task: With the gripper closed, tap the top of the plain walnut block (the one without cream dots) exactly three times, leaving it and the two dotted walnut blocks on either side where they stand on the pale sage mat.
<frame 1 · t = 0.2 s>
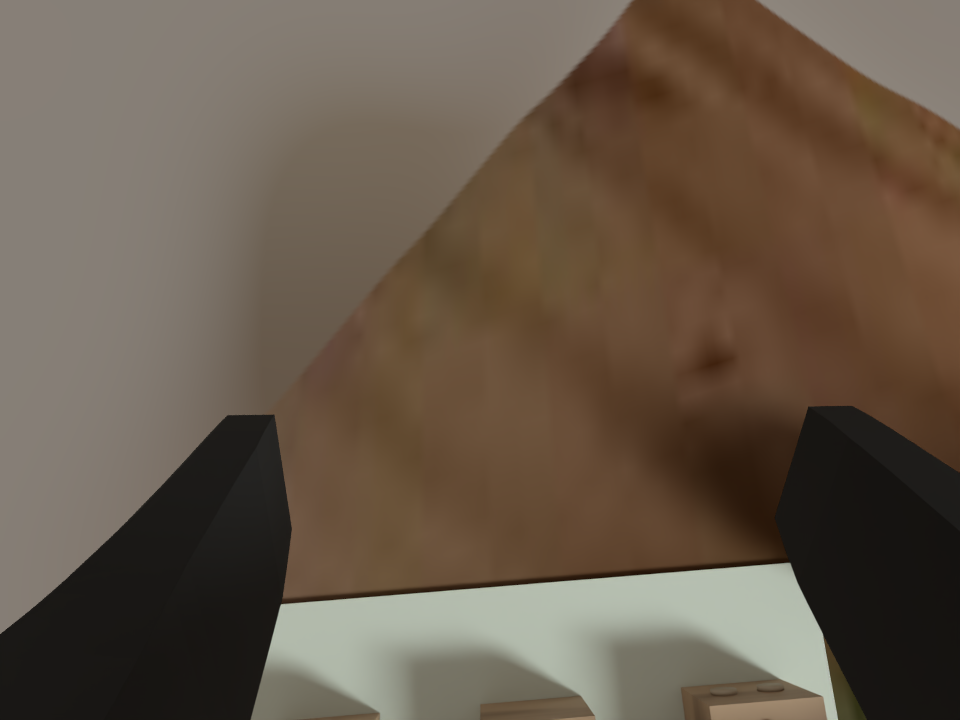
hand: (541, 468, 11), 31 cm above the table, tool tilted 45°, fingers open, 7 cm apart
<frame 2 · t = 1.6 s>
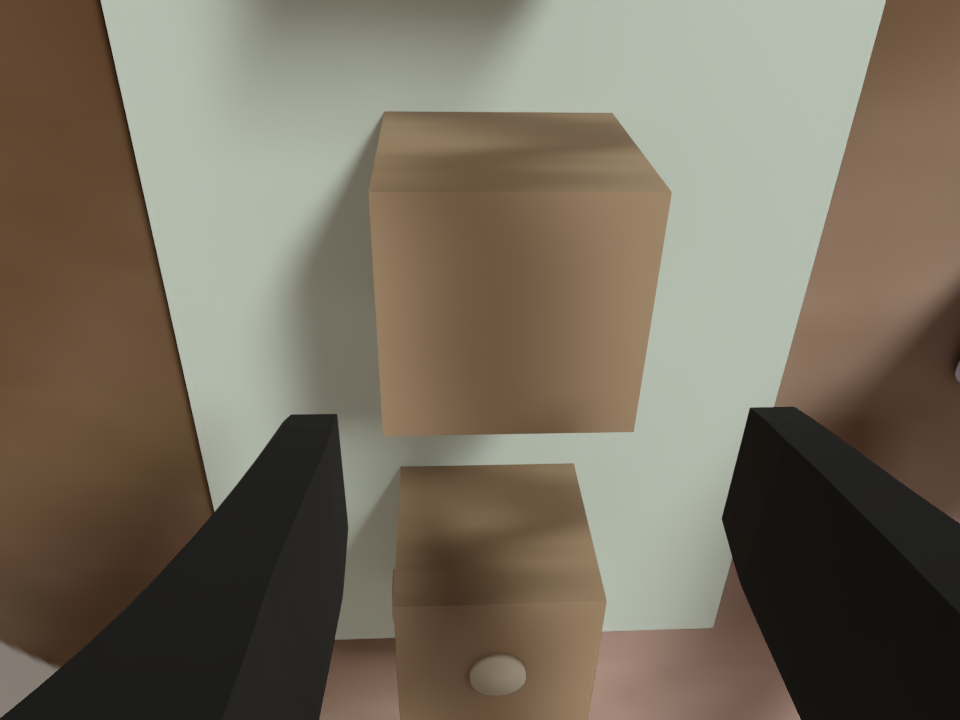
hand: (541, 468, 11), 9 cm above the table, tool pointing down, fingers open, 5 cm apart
one dot block: (485, 528, 24), resting on sage mat
sage mat: (494, 213, 18), on the table
plain block: (495, 219, 18), resting on sage mat
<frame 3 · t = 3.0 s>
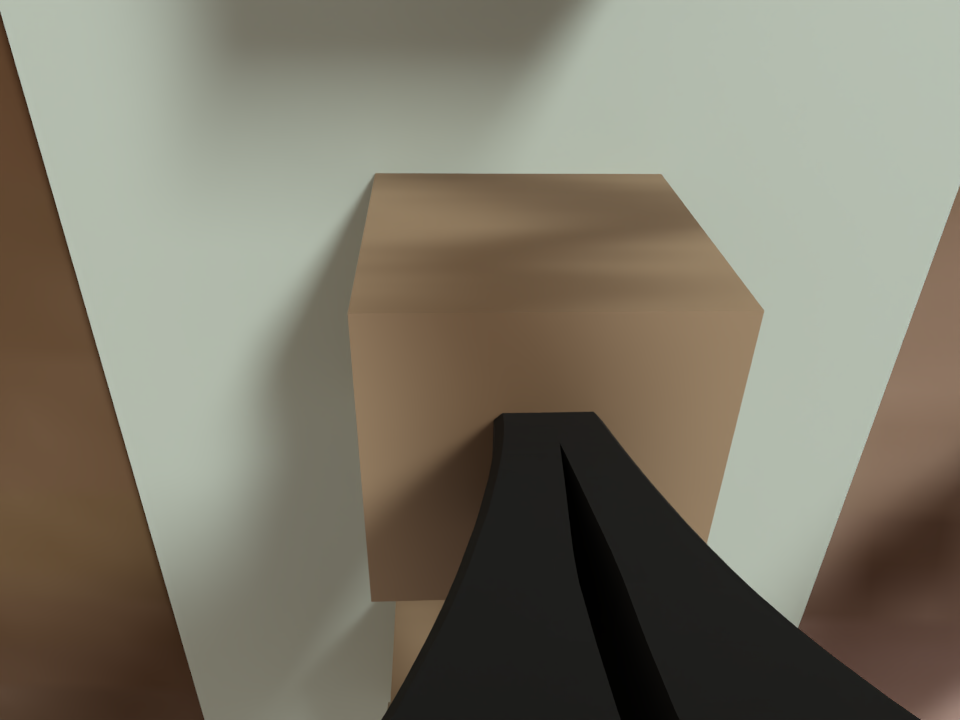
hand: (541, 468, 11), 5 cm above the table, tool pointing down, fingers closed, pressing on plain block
one dot block: (496, 640, 20), resting on sage mat
sage mat: (511, 291, 15), on the table
plain block: (513, 300, 15), resting on sage mat, touching gripper
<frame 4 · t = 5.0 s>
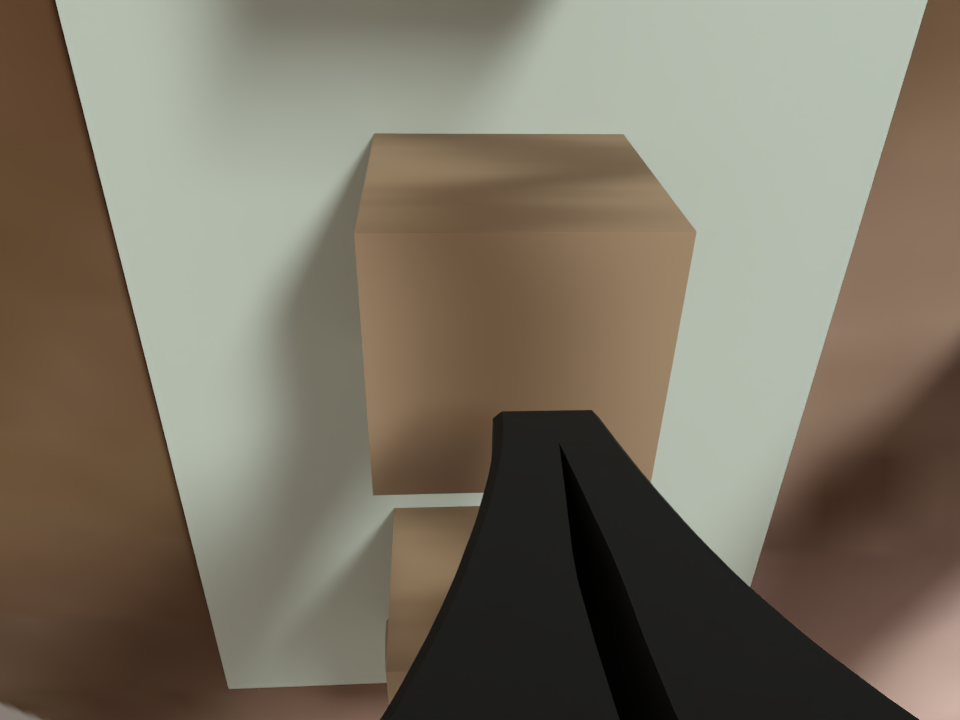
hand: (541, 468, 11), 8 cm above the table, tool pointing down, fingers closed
one dot block: (485, 570, 22), resting on sage mat
sage mat: (494, 241, 17), on the table
plain block: (496, 249, 17), resting on sage mat
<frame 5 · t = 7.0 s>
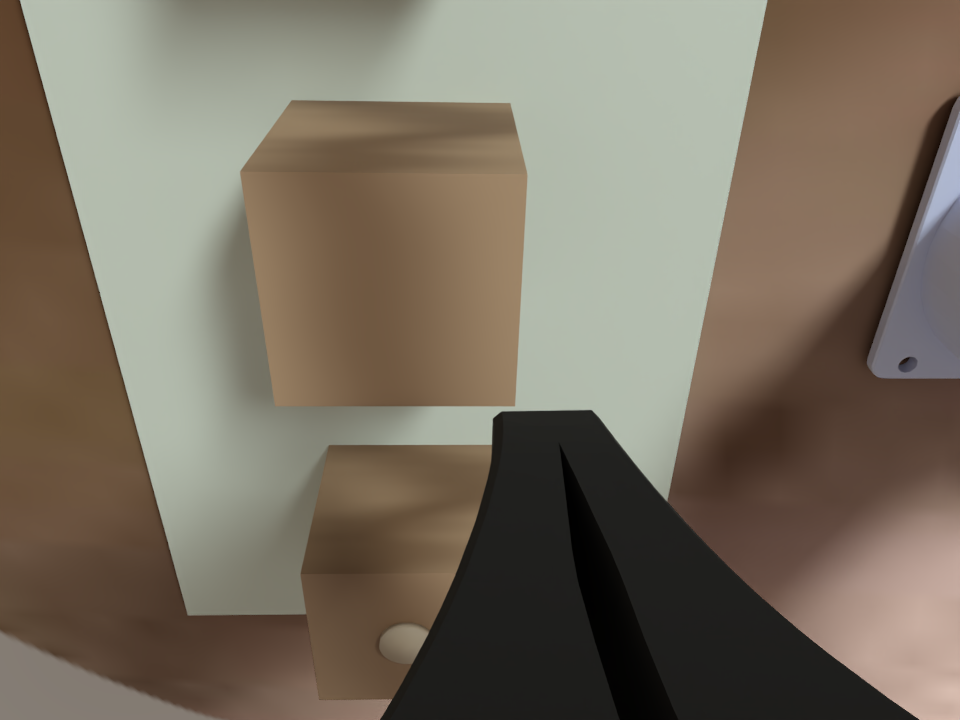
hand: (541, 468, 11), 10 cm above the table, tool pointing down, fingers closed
one dot block: (415, 507, 24), resting on sage mat
sage mat: (405, 199, 19), on the table
plain block: (405, 205, 19), resting on sage mat
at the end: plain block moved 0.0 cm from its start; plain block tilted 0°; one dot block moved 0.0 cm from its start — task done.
